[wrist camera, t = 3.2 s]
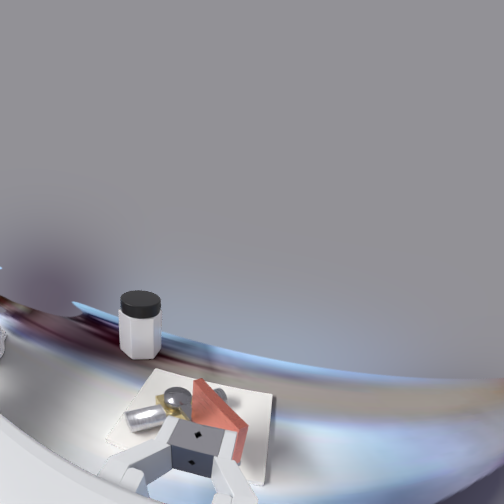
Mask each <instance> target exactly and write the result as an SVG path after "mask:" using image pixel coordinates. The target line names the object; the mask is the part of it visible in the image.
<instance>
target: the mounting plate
mask: <svg viewBox="0 0 504 504" xmlns="http://www.w3.org/2000/svg"><path fill="white" fill-rule="evenodd" d="M193 380H197V379H193V378H190V377H186V376H182V375H178V374H174V373H171V372H167V371H164V370H160V369H157V368H155V370H154V371H153V373H152V374H151V375H150V377H149V378H148V379H147V381H146V382H145V384H144V385H143V386H142V388H141V389H140V391H139V392H138V393H137V395H136V396H135V398H134V399H133V400H132V402H131V403H130V405H129V406H128V407H127V409H126V410H125V412H126V411H131V410H136V409H141V408H145V407H150V406H154V405H156V399H155V396H157V395H162V394H164V392H165V391H166V390H167V389H168V388H171V387H182V388H185V389H187V390H188V391H189V392H190V393H191V395H192V394H193ZM205 382H206V381H205ZM206 383H207V384H208V385H209V386H210V387H211V388H212V389H213V390H214V389H217V388H221V389H222V390H223V391H224V392H225V394H226V396H227V400H228V403H227V405H228V406H229V407H230V408H231V409H232V410H233V411H234V412H235V413H236V414H237V415H238V416H239V417H240V418H242V419H243V420H244V421H245V422H246V423H247V424H248V425H249V427H248V431H247V435H246V439H245V444H244V448H243V452H242V456H241V465H240V466H239V468H240V470H241V472H242V473H243V475H244V477H245V478H246V480H247V482H248V483H249V484H252V485H260V486H263V484H264V480H265V470H266V460H267V450H268V440H269V429H270V417H271V405H272V394H267V393H261V392H255V391H250V390H244V389H239V388H234V387H229V386H224V385H219V384H215V383H210V382H206ZM161 427H162V425H161V426H157V427H153V428H149V429H145V430H141V431H136V432H131V431H130V430H129V428H128V425H127V423H126V420H125V416H124V413H123V414H122V416H121V417H120V419H119V420H118V421H117V423H116V424H115V426H114V427H113V428H112V430H111V431H110V433H109V434H108V435H107V437H106V438H105V439H106V442H107V443H109V444H111V445H113V446H116V447H118V448H121V449H123V450H127V449H129V448H132V447H134V446H136V445H139V444H141V443H143V442H145V441H148V440H150V439H154V440H155V438H156V436H157V434H158V432H159V431H160V429H161Z"/></svg>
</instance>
